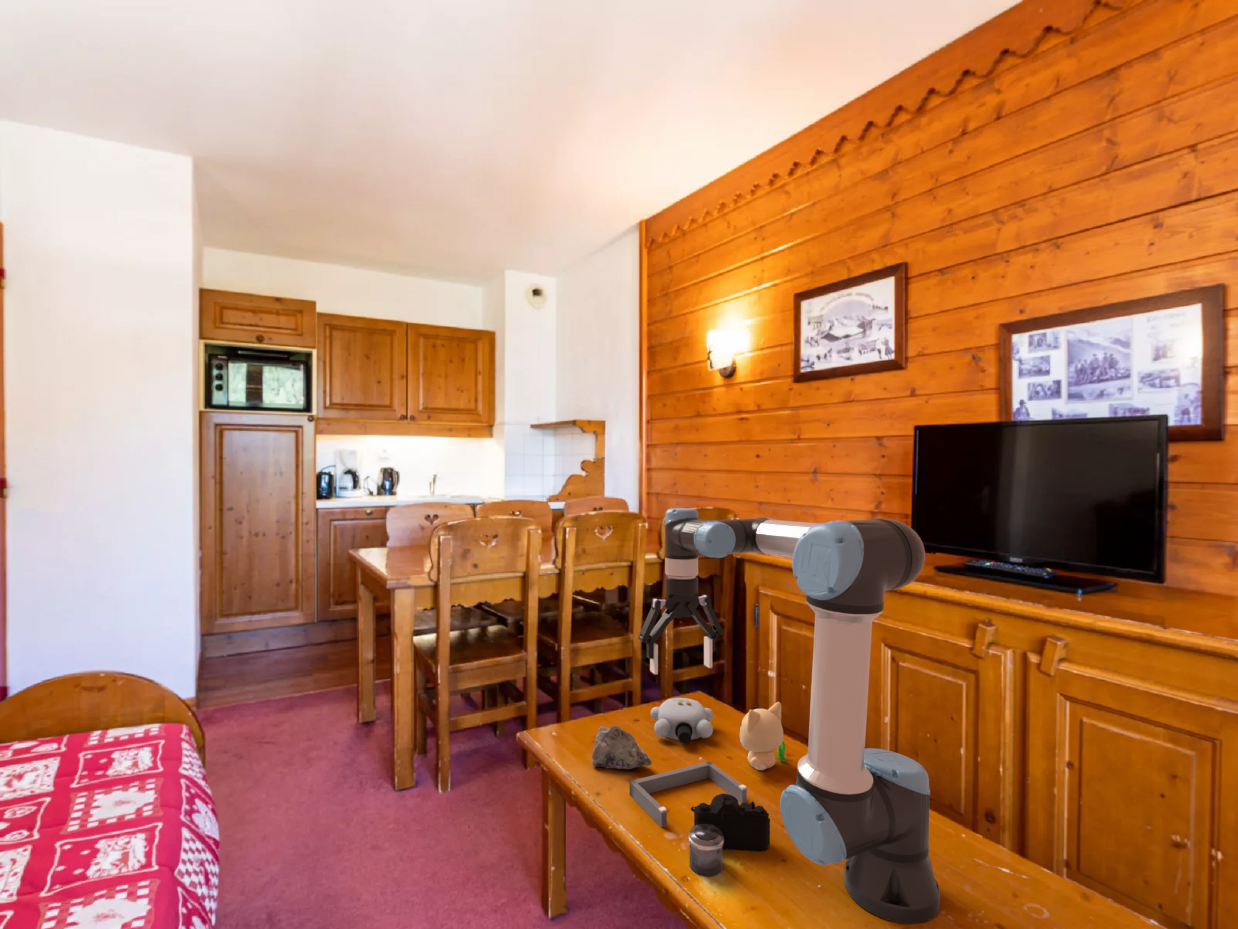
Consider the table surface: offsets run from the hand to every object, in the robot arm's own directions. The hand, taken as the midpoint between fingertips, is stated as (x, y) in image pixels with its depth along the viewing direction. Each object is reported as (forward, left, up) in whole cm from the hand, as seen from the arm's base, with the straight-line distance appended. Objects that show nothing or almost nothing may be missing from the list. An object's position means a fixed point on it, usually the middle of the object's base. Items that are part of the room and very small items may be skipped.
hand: (681, 669), depth 143 cm
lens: (-26, +11, -27) cm, 39 cm away
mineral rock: (+14, +9, -27) cm, 31 cm away
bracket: (-5, +2, -27) cm, 27 cm away
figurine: (+24, -15, -27) cm, 39 cm away
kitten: (0, -23, -27) cm, 36 cm away
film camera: (-21, +2, -27) cm, 34 cm away
